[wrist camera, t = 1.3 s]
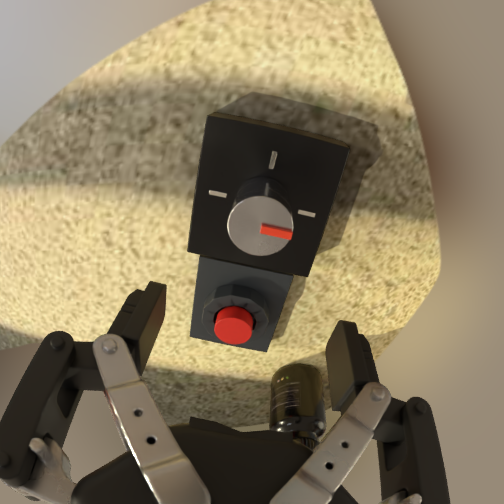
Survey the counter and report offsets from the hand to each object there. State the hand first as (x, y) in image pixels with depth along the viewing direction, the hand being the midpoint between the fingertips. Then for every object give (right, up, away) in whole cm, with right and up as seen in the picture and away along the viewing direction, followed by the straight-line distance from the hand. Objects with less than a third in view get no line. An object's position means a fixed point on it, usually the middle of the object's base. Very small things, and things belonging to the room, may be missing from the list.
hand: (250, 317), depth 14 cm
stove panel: (+1, +8, +14) cm, 16 cm away
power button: (-2, -4, +17) cm, 18 cm away
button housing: (-1, -2, +20) cm, 20 cm away
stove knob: (+1, +7, +11) cm, 13 cm away
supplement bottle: (+6, -14, +26) cm, 30 cm away
